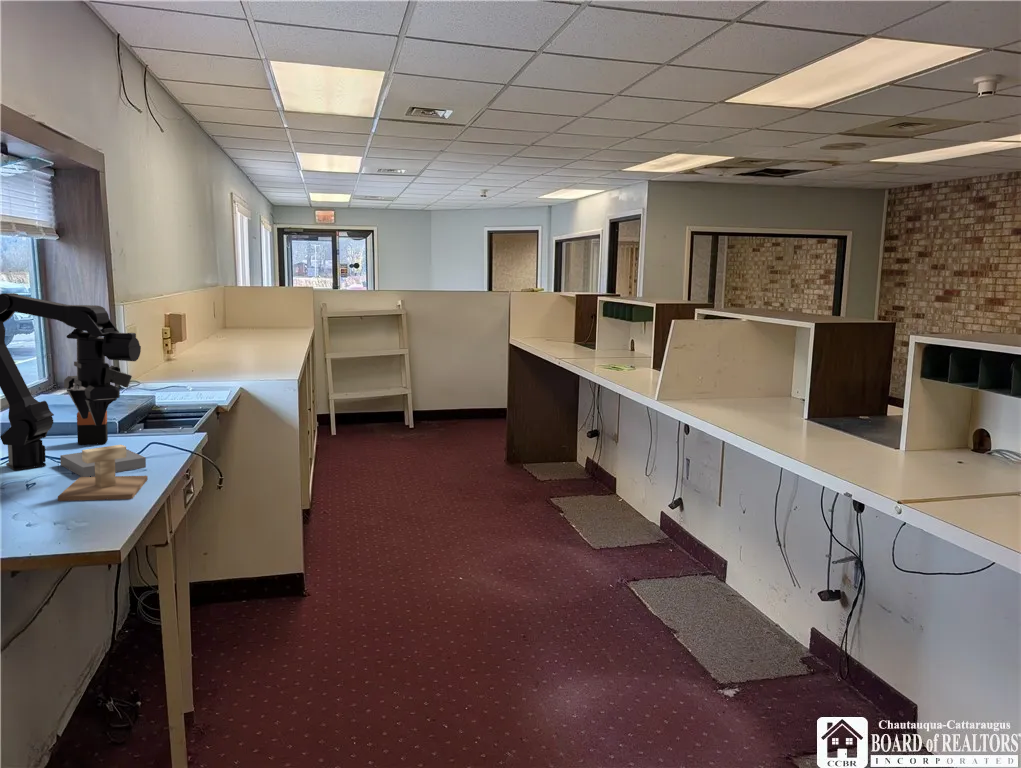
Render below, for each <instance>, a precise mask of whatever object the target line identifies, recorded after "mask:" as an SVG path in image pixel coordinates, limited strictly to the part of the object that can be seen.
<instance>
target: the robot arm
mask: <svg viewBox="0 0 1021 768" xmlns="http://www.w3.org/2000/svg"><path fill="white" fill-rule="evenodd" d="M15 313H19V314H23V315H28V316H29V315H30V316H34V317H40V318H46V319H50V320H54V321H59V322H61V323H62V324H65V325H67V326H68V327H72V328H73V330H72V331H71V332H70V333H68V334H66V339H71V340H76V361H73V366H74V367H76V375H68V376H67V377H66V378H64V380H63V385H64V386H63V387H64V388H65V389H66V392H67V393H68V395H69V397H70V399H71V400H72V402H73V403H74V406H75V408H76V410H77V413H78V412H79V413H80V415H81V417H82V419H87V418H88V413H89V410H90V413H91V415H92V418H93V420H94V422H95V425H96V426H101V425H102V422H103V419H104V416H105V413H106V410H107V411H108V408H109V405H110V404H112V403H113V402H115V401H117V400H118V399H120V395H121V394H120V389H119V388H118V387H117V386H115V385H114V384H116V385H119V386H122V387H123V388H129V385H130V383H131V381H132V378H133V375H132V374H129V373H126V372H123V371H122V370H121V368H120V367H118V366H116V365H110V364H109V363H107V362H106V358H107V359H108V361H109V360H111V361H121V362H122V361H125V362H137V360H138V359H139V358H140V355H141V351H142V350H141V349H142V348H141V347H142V346H141V345H140V341H139V340H138V338H137V334H136V333H135V332H120V330H118V328H117V327H116V325H115V324H114V323H113V321H112V320H111V319H110V316H109V313H108V312H107V310H106V308H105V307H103V306H101V305H95V304H93V305H92V304H64V303H60V302H56V301H51V300H46V299H45V300H44V299H41V298H35V297H30V296H25V295H21V294H18V293H13V292H11V293H10V292H9V293H7V292H5V293H4V292H3V293H0V390H1V392H2V395H3V396H4V398H5V400H6V401H7V403H8V418H7V419H8V422H9V424H10V427H9V428H7V430H5V432H3V433H2V434H1V435H0V440H1V443H2V445H4V446H7V454H8V462H6V463H5V465H6V466H7V467H8V468H10V469H12V470H13V471H20V470H22V471H23V470H28V469H34V468H40V467H41V468H42V467H46V466H47V464H46V463H45V462H46V445H44V444H43V440H42V439H45V438H47V434H48V432H49V431H50V430H51V429H52V428H53V424H54V418H53V416H55V414H54V413H53V412H52V411H51V409H50V407H49V403H48V402H47V401H46V400H43V401H38V400H37V399H36V398H34V397H33V396H32V394H31V391H30V390H29V389H30V388H29V387H28V386H27V384H26V382H25V379H24V378H23V376H22V374H21V371H20V370H19V368H18V366H17V364H16V363H15V360H14V359H13V356H12V354H11V353H10V350H9V348H8V346H7V345H6V344H7V343H6V342H5V340H6V328H5V325H4V323H5V322H6V321H8V320H10V319H11V318H12V316H14V315H15Z"/></svg>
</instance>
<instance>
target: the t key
mask: <svg viewBox="0 0 1021 768" xmlns="http://www.w3.org/2000/svg"><path fill="white" fill-rule="evenodd" d="M126 449H127V446H126V445H123V444H115V445H108V446H102V447H96V448H95V447H94V448H88V449H82V450H81V452H82V461H83V462H85V463H94V462H95V476H94V477H95V485H96V486H98V487H100V488H105V487H110V486H116V479H115V476H116V472H115V459H120V458H126Z"/></svg>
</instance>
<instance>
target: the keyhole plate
mask: <svg viewBox="0 0 1021 768" xmlns="http://www.w3.org/2000/svg"><path fill="white" fill-rule="evenodd" d="M59 456H60V466H61V467H63V468H65V469H67V470H69V471H70V472H73V473H74V474H75V475H78V476H79V477H90V476H91V477H95V462H94V463H85V462H83V461H82V451H81V452H75V453H68V454H67V453H66V454H60V455H59ZM146 459H147V458H146V457H145V456H143V455H140V454H139V453H136V452H134V451H132V450H130V449H127V448H126V458H120V459H115V473H119V472H125V471H131V470H137V469H143V468H146V466H147V464H146V463H147V461H146Z"/></svg>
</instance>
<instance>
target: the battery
mask: <svg viewBox="0 0 1021 768" xmlns="http://www.w3.org/2000/svg"><path fill="white" fill-rule="evenodd" d="M76 431H77V432H76V433H77V434H76V435H77V436H76V437H77V444H78V446H87V445H104V444H105V445H106V444H107V442H108V440H109V439H108V438H109V437H108V409H107V410H106V413H105V416H104V419H103V422H102V425H101V426H96V425H95V422H94V420H93V418H92V415H91V413H90V410H89V413H88V418H87V419H82V417H81V415H80V413H79V412H78V411H77V413H76Z"/></svg>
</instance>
